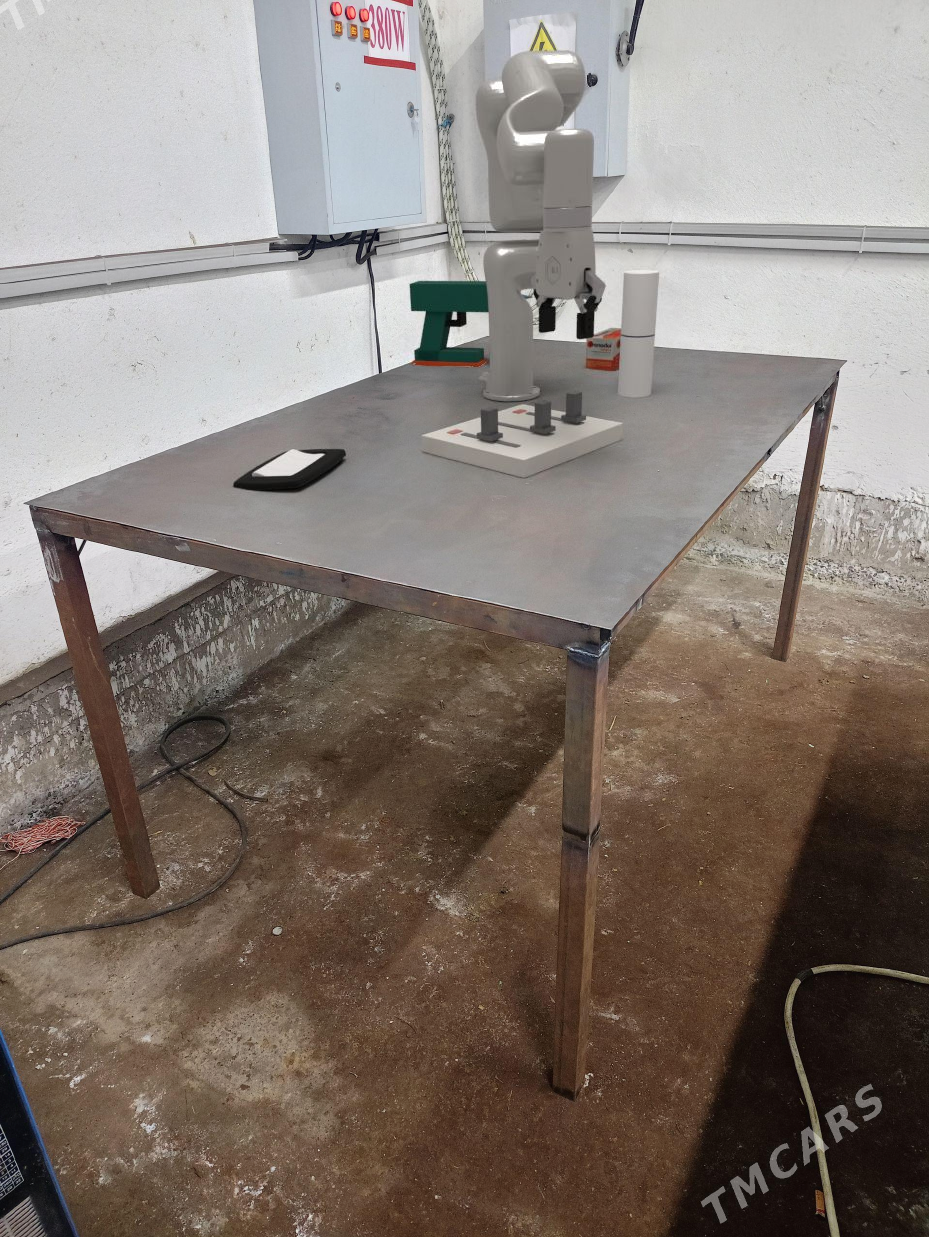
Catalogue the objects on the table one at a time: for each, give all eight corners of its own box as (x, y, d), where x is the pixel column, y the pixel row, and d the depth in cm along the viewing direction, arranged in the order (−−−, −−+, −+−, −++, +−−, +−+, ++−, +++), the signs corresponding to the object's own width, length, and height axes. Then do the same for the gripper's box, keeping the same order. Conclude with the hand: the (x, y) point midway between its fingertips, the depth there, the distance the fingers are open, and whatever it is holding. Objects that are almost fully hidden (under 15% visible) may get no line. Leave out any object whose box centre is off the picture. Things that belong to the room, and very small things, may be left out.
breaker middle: (529, 430, 152) (529, 402, 149) (539, 427, 154) (539, 399, 151) (545, 434, 150) (545, 405, 147) (555, 430, 151) (556, 402, 149)
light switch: (282, 444, 156) (350, 441, 151) (285, 460, 157) (353, 457, 153) (223, 479, 139) (298, 477, 135) (227, 496, 141) (302, 494, 136)
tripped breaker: (476, 437, 149) (475, 409, 147) (487, 434, 151) (486, 405, 148) (492, 441, 147) (491, 412, 144) (502, 437, 148) (502, 408, 146)
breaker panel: (422, 451, 155) (421, 434, 153) (522, 419, 172) (522, 403, 171) (524, 477, 140) (524, 458, 138) (622, 439, 157) (623, 422, 156)
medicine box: (609, 358, 224) (610, 326, 220) (638, 360, 220) (640, 328, 216) (584, 369, 213) (585, 336, 209) (614, 372, 209) (616, 338, 205)
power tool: (537, 364, 220) (538, 281, 210) (530, 369, 214) (530, 284, 205) (422, 360, 229) (417, 280, 220) (412, 365, 224) (407, 283, 214)
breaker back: (561, 419, 157) (561, 392, 155) (570, 416, 159) (571, 389, 157) (576, 423, 155) (577, 395, 153) (586, 419, 157) (586, 392, 155)
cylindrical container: (614, 396, 186) (620, 273, 175) (621, 389, 192) (628, 269, 181) (647, 398, 184) (655, 273, 172) (653, 390, 190) (662, 270, 178)
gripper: (514, 221, 138) (515, 332, 145) (585, 222, 125) (582, 344, 132) (551, 219, 141) (550, 327, 149) (623, 219, 128) (618, 338, 136)
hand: (565, 335), depth 141 cm, fingers open, 9 cm apart
